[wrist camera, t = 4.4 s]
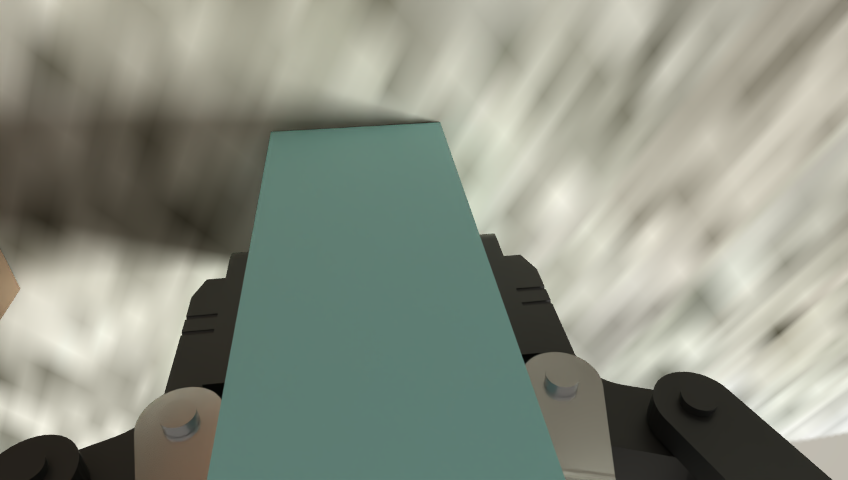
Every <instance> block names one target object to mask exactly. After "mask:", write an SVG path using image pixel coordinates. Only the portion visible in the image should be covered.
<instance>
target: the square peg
mask: <svg viewBox="0 0 848 480" xmlns="http://www.w3.org/2000/svg"><path fill="white" fill-rule="evenodd" d="M207 480H565V477H564V474H563V472H562V469H561V466H560V463H559V460H558V457H557V454H556V452H555V449H554V446H553V443H552V440H551V437H550V434H549V432H548V429H547V426H546V423H545V420H544V417H543V415H542V412H541V409H540V406H539V403H538V400H537V397H536V395H535V392H534V389H533V386H532V383H531V380H530V377H529V375H528V372H527V369H526V366H525V363H524V360H523V358H522V355H521V352H520V349H519V346H518V343H517V340H516V338H515V335H514V332H513V329H512V326H511V323H510V320H509V318H508V315H507V312H506V309H505V306H504V303H503V300H502V298H501V295H500V292H499V289H498V286H497V283H496V281H495V278H494V275H493V272H492V269H491V266H490V263H489V261H488V258H487V255H486V252H485V249H484V246H483V243H482V241H481V238H480V235H479V232H478V229H477V226H476V223H475V221H474V218H473V215H472V212H471V209H470V206H469V204H468V201H467V198H466V195H465V192H464V189H463V186H462V184H461V181H460V178H459V175H458V172H457V169H456V166H455V164H454V161H453V158H452V155H451V152H450V149H449V146H448V144H447V141H446V138H445V135H444V132H443V129H442V127H441V124H440V122H436V123H418V124H401V125H383V126H365V127H348V128H330V129H313V130H295V131H277V132H271V134H270V140H269V145H268V151H267V156H266V162H265V167H264V172H263V178H262V183H261V189H260V194H259V200H258V205H257V210H256V216H255V221H254V227H253V232H252V237H251V243H250V248H249V254H248V259H247V265H246V270H245V275H244V281H243V286H242V292H241V297H240V303H239V308H238V313H237V319H236V324H235V330H234V335H233V341H232V346H231V351H230V357H229V362H228V368H227V373H226V379H225V384H224V389H223V395H222V400H221V406H220V411H219V416H218V422H217V427H216V433H215V438H214V444H213V449H212V454H211V460H210V465H209V471H208V476H207Z"/></svg>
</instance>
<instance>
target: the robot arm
mask: <svg viewBox="0 0 848 480" xmlns="http://www.w3.org/2000/svg"><path fill="white" fill-rule="evenodd" d="M480 238H481V241H482V243H483V246H484V249H485V252H486V255H487V258H488V261H489V263H490V266H491V269H492V272H493V275H494V278H495V281H496V283H497V286H498V289H499V292H500V295H501V298H502V300H503V303H504V306H505V309H506V312H507V315H508V318H509V320H510V323H511V326H512V329H513V332H514V335H515V338H516V340H517V343H518V346H519V349H520V352H521V355H522V358H523V360H524V363H525V366H526V369H527V372H528V375H529V377H530V380H531V383H532V386H533V389H534V392H535V395H536V397H537V400H538V403H539V406H540V409H541V412H542V415H543V417H544V420H545V423H546V426H547V429H548V432H549V434H550V437H551V440H552V443H553V446H554V449H555V452H556V454H557V457H558V460H559V463H560V466H561V469H562V472H563V474H564V477H565V480H832V479H831V478H829V477H828V476H827V475H826V474H825V473H824V472H823V471H822V470H820V469H819V468H818V467H817V466H816V465H815V464H813V463H812V462H811V461H810V460H809V459H808V458H807V457H805V456H804V455H803V454H802V453H800V452H799V451H798V450H797V449H796V448H795V447H794V446H793V445H791V444H790V443H789V442H788V441H787V440H786V439H785V438H783V437H782V436H781V435H780V434H779V433H778V432H776V431H775V430H774V429H773V428H772V427H771V426H770V425H768V424H767V423H766V422H765V421H764V420H763V419H761V418H760V417H759V416H758V415H757V414H756V413H755V412H753V411H752V410H751V409H750V408H749V407H748V406H746V405H745V404H744V403H743V402H742V401H741V400H740V399H738V398H737V397H736V396H735V395H734V394H733V393H731V392H730V391H729V390H728V389H727V388H725V387H724V386H723V385H722V384H720V383H718V382H717V381H715V380H713V379H711V378H709V377H706V376H703V375H700V374H696V373H691V372H675V373H671V374H668V375H665V376H664V377H662V378H661V379H660V380H658V381H657V383H656V385H655V387H654V390H651V389H645V388H638V387H632V386H626V385H621V384H616V383H612V382H609V381H606V380H604V379H602V378H600V376H599V374H598V372H597V371H596V370H595V369H594V368H593V367H592V366H591V365H590V364H589V363H587V362H586V361H585V360H583V359H581V358H579V357H577V356H576V355H575V353H574V351H573V349H572V347H571V344H570V342H569V340H568V338H567V336H566V333H565V331H564V329H563V327H562V324H561V322H560V320H559V318H558V316H557V313H556V311H555V309H554V307H553V304H552V303H551V302H550V298H549V295H548V293H547V291H546V289H544V284H543V282H542V280H541V278H540V275H539V273H538V271H537V269H536V268H535V267H534V266H533V265H531V264H530V263H529V262H528V261H527V260H526V259H525V258H523V257H522V256H521V255H512V256H503V253H502V251H501V248H500V246H499V243H498V240H497V238H496V236H495V234H482V235H480ZM248 254H249V252H241V253H232V254H231V257H230V261H229V265H228V270H227V274H226V278H220V279H208V280H206V281H205V282H204V284H203V285H202V286H201V287H200V288H199V289H198V290H197V292H196V293H195V294H194V295H193V296H192V298H191V301H190V305H189V308H188V312H187V315H186V317H187V320H185V323H184V326H183V330H182V336H181V337H180V340H179V344H178V347H177V351H176V354H175V358H174V361H173V365H172V368H171V372H170V376H169V379H168V383H167V386H166V390H165V393H164V395H162V396H160V397H159V398H157V399H156V400H154V401H153V402H152V403H151V404H149V405H148V406H147V407H146V408H145V409H144V411H143V412H142V413H141V415H140V416H139V418H138V420H137V422H136V425H135V428H133V429H131V430H129V431H127V432H125V433H123V434H121V435H118V436H116V437H113V438H110V439H108V440H105V441H102V442H99V443H97V444H94V445H91V446H88V447H85V448H83V449H80V450H78V448H77V447H76V445H75V443H73V442H72V441H71V440H70V439H68V438H66V437H63V436H60V435H42V436H37V437H33V438H30V439H27V440H24V441H22V442H20V443H18V444H16V445H14V446H12V447H10V448H9V449H7V450H6V451H4V452H2V453H1V454H0V480H207V476H208V471H209V465H210V460H211V454H212V449H213V444H214V438H215V433H216V427H217V422H218V416H219V411H220V406H221V400H222V395H223V389H224V384H225V379H226V373H227V368H228V362H229V357H230V351H231V346H232V341H233V335H234V330H235V324H236V319H237V313H238V308H239V303H240V297H241V292H242V286H243V281H244V275H245V270H246V265H247V259H248Z"/></svg>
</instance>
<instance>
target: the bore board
mask: <svg viewBox="0 0 848 480" xmlns="http://www.w3.org/2000/svg"><path fill="white" fill-rule="evenodd" d="M19 290H20V287H19V285H18V283H17V281H16V279H15V277H14V275H13V273H12V271H11V269H10V267H9V265H8V263H7V261H6V259H5V257H4V256H3V254H2V252H1V250H0V319H1V318H2V316H3V315H4V313H5V312H6V310H7V309H8V307H9V306H10V304H11V302H12V301H13V299H14V298H15V296H16V295H17V293H18V292H19Z"/></svg>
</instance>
